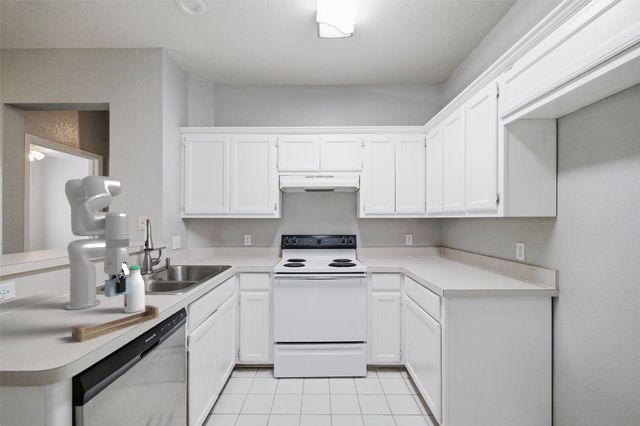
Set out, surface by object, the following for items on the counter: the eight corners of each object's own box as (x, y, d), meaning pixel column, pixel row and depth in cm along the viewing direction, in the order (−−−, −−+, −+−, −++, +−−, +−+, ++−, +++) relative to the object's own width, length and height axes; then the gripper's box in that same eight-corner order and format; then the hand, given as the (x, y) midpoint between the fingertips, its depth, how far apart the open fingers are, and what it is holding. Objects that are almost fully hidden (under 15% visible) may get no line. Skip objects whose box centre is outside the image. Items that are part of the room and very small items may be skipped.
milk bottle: (148, 307, 131) (148, 264, 131) (138, 313, 124) (138, 267, 124) (131, 307, 131) (131, 264, 131) (120, 313, 123) (120, 267, 123)
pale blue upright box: (105, 296, 107) (104, 280, 107) (125, 291, 113) (125, 276, 113) (110, 297, 105) (110, 281, 105) (130, 292, 111) (130, 277, 111)
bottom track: (71, 337, 100) (71, 325, 100) (148, 314, 123) (148, 304, 123) (81, 341, 96) (81, 330, 96) (158, 317, 119) (158, 307, 119)
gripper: (95, 244, 110) (96, 291, 110) (117, 246, 102) (118, 297, 102) (117, 242, 117) (117, 287, 116) (139, 244, 108) (139, 292, 108)
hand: (117, 291), depth 109 cm, fingers closed on pale blue upright box, 4 cm apart
